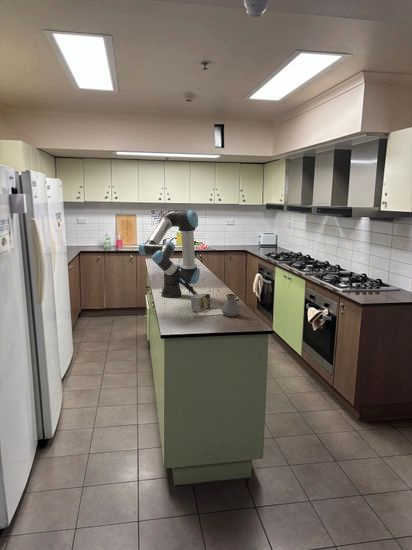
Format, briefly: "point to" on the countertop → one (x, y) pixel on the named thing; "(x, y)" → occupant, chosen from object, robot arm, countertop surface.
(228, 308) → the coffee pot
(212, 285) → the countertop surface
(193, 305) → the coffee box
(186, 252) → the robot arm
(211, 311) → the mat
